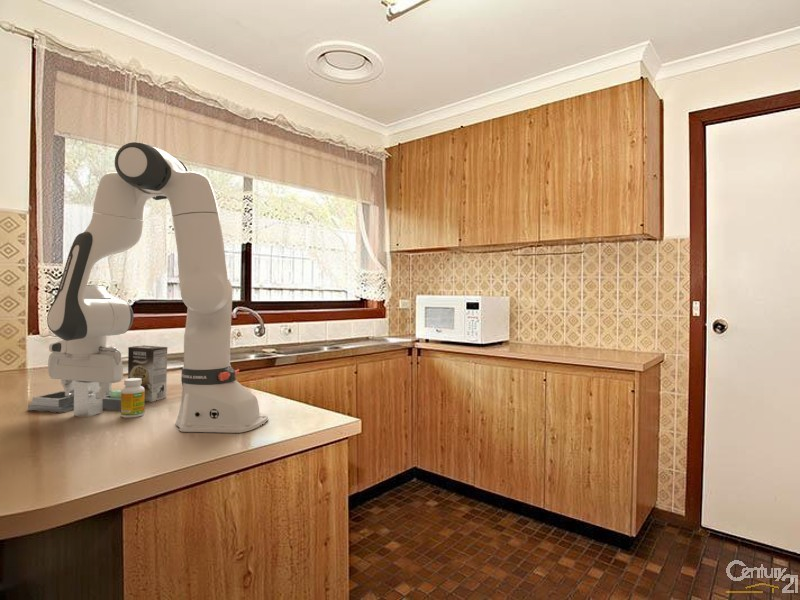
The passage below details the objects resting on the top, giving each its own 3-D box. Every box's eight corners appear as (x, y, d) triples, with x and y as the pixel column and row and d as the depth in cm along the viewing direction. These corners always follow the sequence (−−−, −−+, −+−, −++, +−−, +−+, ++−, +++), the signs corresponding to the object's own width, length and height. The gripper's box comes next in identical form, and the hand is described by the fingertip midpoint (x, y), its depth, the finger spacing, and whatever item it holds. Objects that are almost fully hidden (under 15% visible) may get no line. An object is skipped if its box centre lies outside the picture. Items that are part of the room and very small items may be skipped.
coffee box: (126, 400, 139) (127, 347, 138) (143, 395, 145) (143, 344, 145) (151, 402, 136) (152, 348, 136) (167, 397, 143) (168, 346, 142)
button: (129, 400, 133) (130, 390, 133) (118, 403, 129) (119, 392, 129) (118, 399, 133) (118, 389, 133) (106, 402, 129) (106, 392, 129)
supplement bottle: (133, 418, 119) (134, 381, 119) (115, 417, 120) (116, 380, 120) (148, 413, 124) (149, 378, 124) (131, 412, 125) (132, 376, 125)
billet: (102, 412, 124) (102, 379, 124) (88, 416, 120) (88, 382, 120) (88, 411, 125) (88, 378, 125) (73, 415, 121) (74, 381, 121)
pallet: (112, 398, 140) (113, 364, 139) (61, 412, 123) (61, 374, 123) (82, 396, 142) (82, 362, 142) (28, 410, 125) (28, 371, 125)
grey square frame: (141, 403, 134) (141, 393, 134) (119, 410, 126) (119, 399, 126) (117, 402, 136) (117, 392, 136) (94, 408, 128) (94, 398, 128)
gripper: (129, 346, 123) (128, 397, 123) (65, 342, 127) (63, 392, 127) (111, 349, 117) (109, 403, 117) (43, 344, 120) (42, 397, 120)
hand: (85, 397), depth 122 cm, fingers open, 8 cm apart
